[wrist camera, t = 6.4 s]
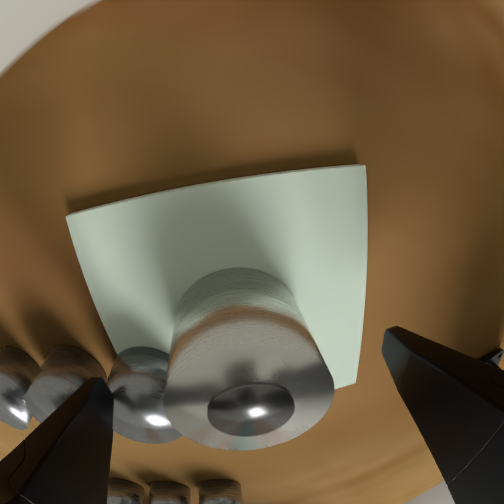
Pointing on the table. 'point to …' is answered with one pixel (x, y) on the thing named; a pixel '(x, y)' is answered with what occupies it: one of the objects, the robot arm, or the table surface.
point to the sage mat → (233, 253)
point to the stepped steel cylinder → (243, 364)
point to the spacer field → (124, 416)
